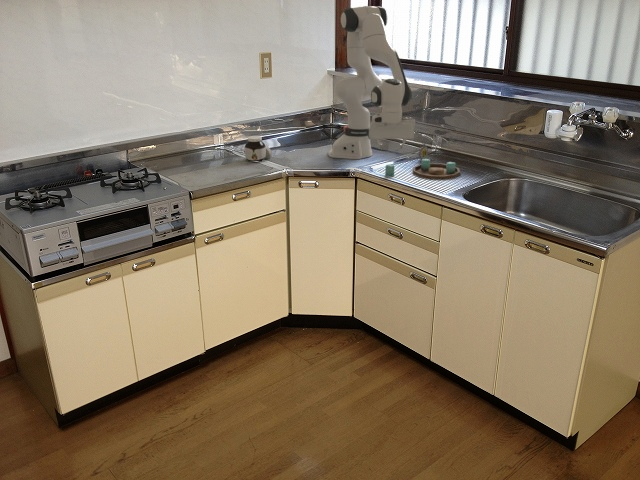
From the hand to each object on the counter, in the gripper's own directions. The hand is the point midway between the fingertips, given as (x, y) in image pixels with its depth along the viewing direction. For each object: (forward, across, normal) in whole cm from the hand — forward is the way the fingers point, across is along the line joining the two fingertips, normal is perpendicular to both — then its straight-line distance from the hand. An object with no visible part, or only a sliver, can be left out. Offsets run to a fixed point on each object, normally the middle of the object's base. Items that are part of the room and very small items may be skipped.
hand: (391, 148), depth 280 cm
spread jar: (+12, +65, -22) cm, 70 cm away
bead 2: (+12, -16, -8) cm, 22 cm away
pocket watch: (+13, -18, -23) cm, 32 cm away
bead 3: (+12, -27, -4) cm, 30 cm away
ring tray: (+13, -21, -4) cm, 25 cm away
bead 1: (+13, 0, 0) cm, 13 cm away
